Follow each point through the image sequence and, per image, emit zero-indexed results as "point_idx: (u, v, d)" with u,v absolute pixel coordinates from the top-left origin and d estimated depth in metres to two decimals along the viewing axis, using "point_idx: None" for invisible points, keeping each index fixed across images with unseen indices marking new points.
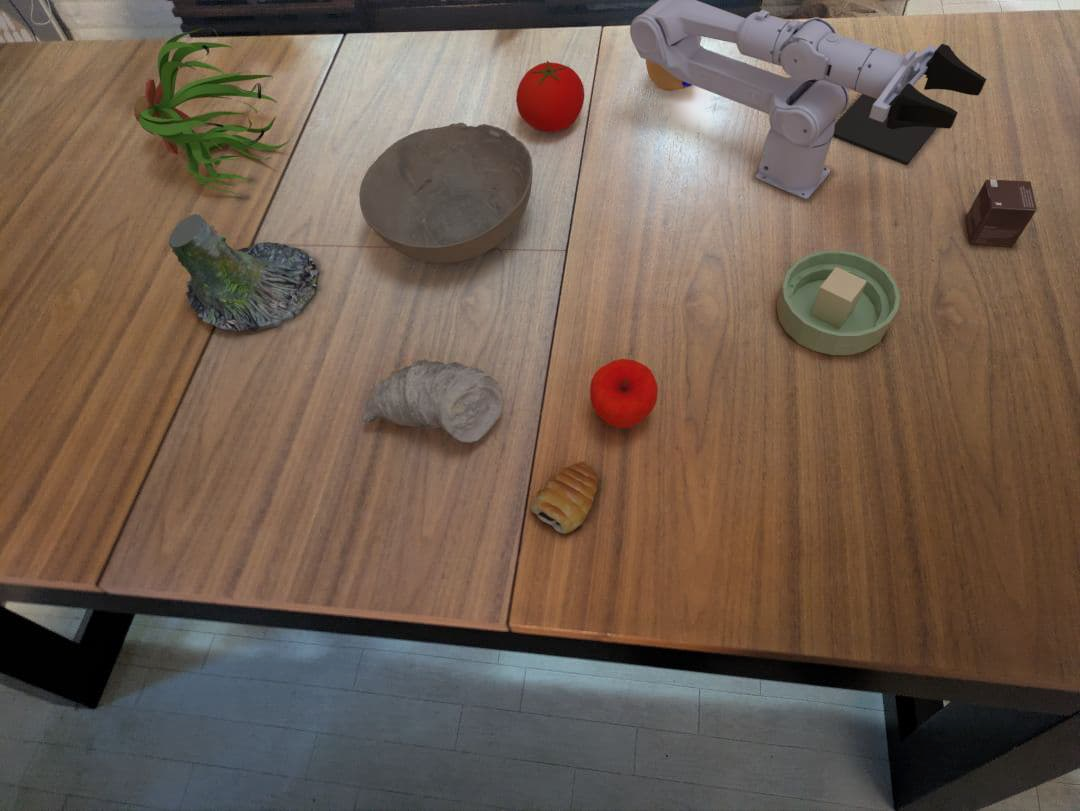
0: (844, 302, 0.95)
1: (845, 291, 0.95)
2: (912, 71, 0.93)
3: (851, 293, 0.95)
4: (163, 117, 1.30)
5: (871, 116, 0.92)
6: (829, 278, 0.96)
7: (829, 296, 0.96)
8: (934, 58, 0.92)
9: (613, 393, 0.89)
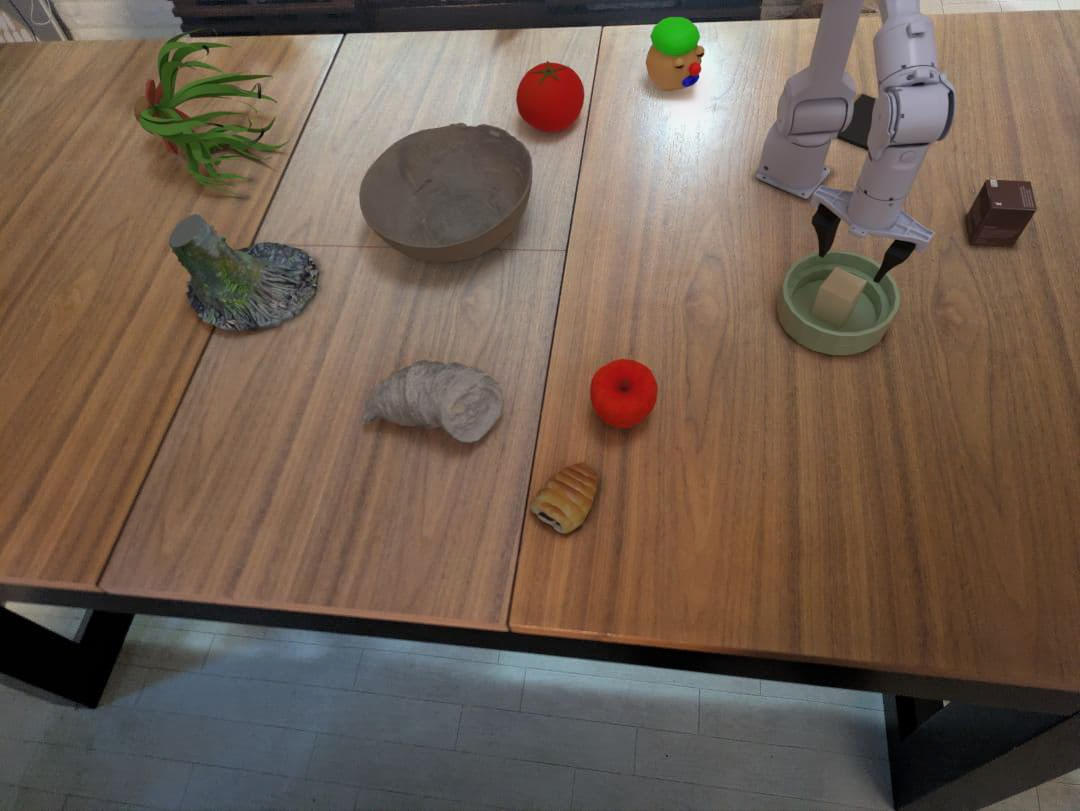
0: (844, 302, 0.95)
1: (845, 291, 0.95)
2: None
3: (851, 293, 0.95)
4: (163, 117, 1.30)
5: (819, 187, 0.88)
6: (829, 278, 0.96)
7: (829, 296, 0.96)
8: (889, 248, 0.84)
9: (613, 393, 0.89)
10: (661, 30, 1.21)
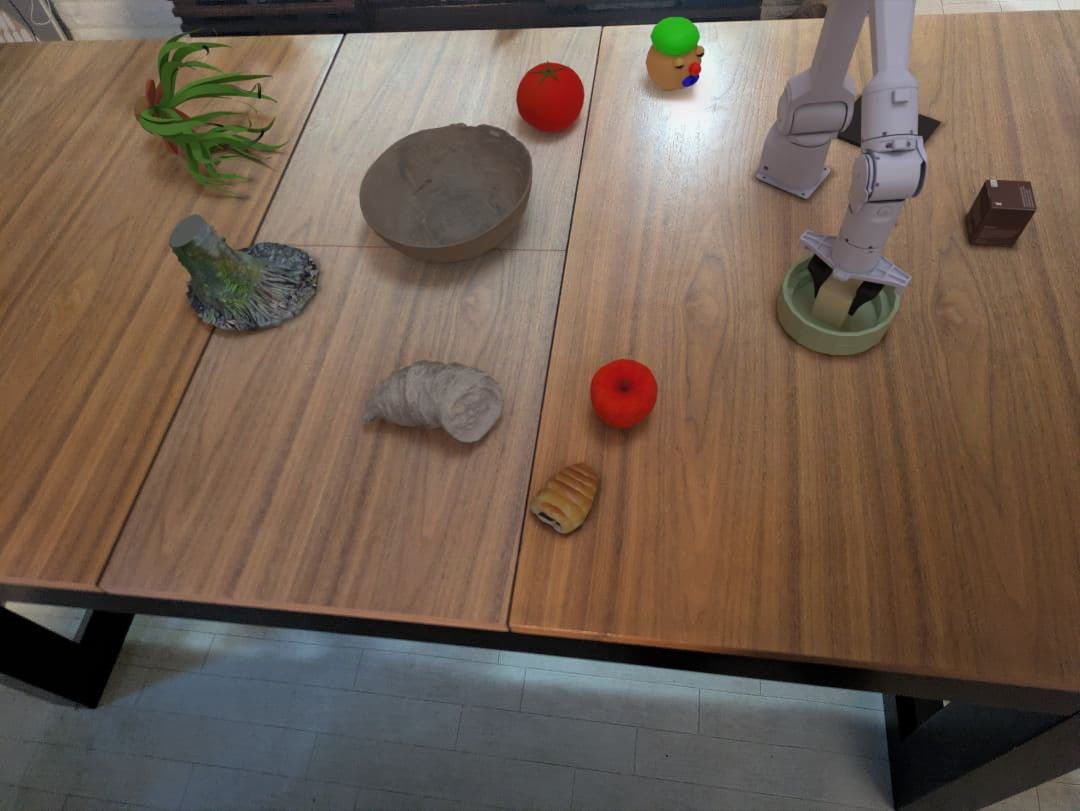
0: (844, 302, 0.95)
1: (845, 292, 0.95)
2: None
3: (851, 293, 0.95)
4: (163, 117, 1.30)
5: (805, 232, 0.95)
6: (829, 278, 0.96)
7: (829, 297, 0.96)
8: None
9: (613, 393, 0.89)
10: (661, 30, 1.21)
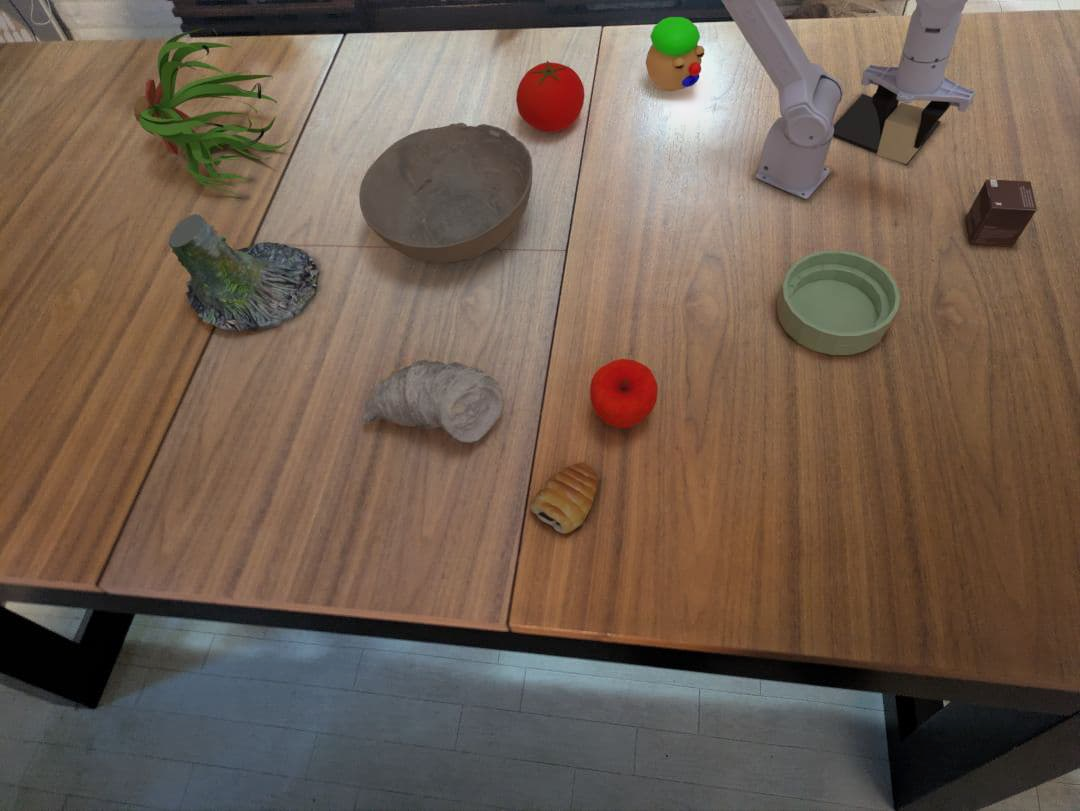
0: (910, 131, 0.99)
1: (910, 121, 0.99)
2: None
3: (917, 122, 0.99)
4: (163, 117, 1.30)
5: (868, 67, 1.00)
6: (894, 112, 1.01)
7: (895, 129, 1.00)
8: None
9: (613, 393, 0.89)
10: (661, 30, 1.21)
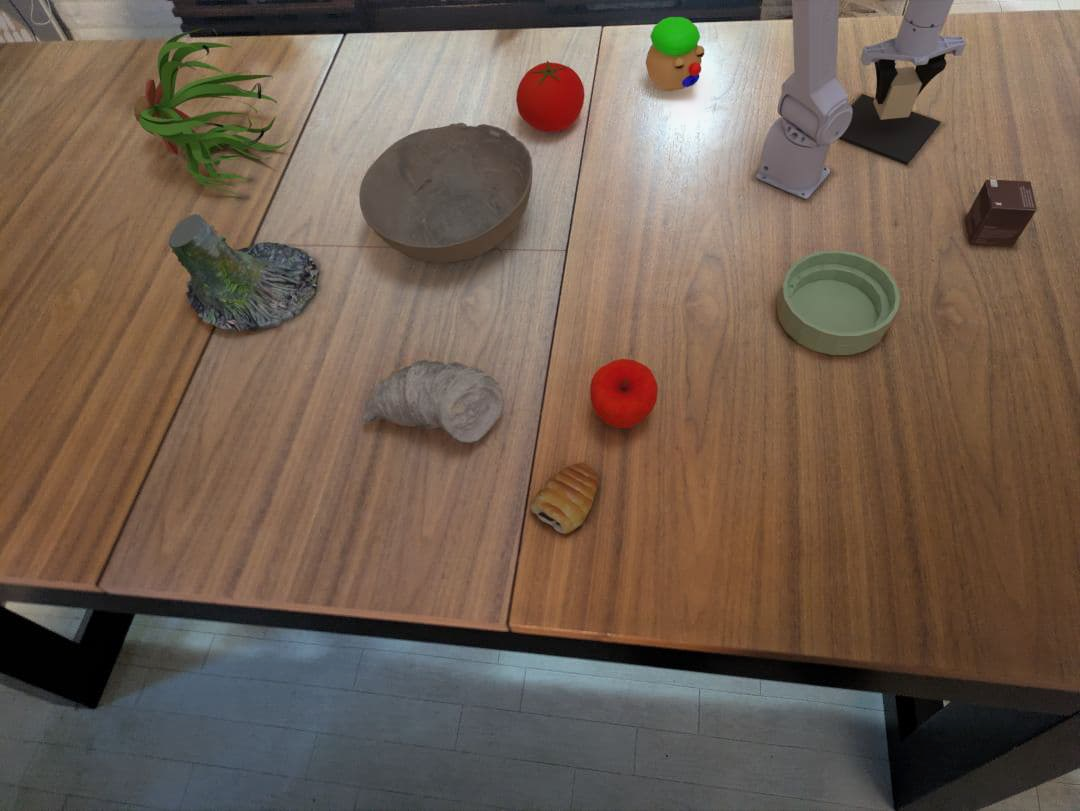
0: (916, 88, 1.11)
1: (910, 80, 1.11)
2: None
3: (915, 79, 1.11)
4: (163, 117, 1.30)
5: (863, 49, 1.08)
6: None
7: (901, 91, 1.11)
8: (929, 64, 1.08)
9: (613, 393, 0.89)
10: (661, 30, 1.21)
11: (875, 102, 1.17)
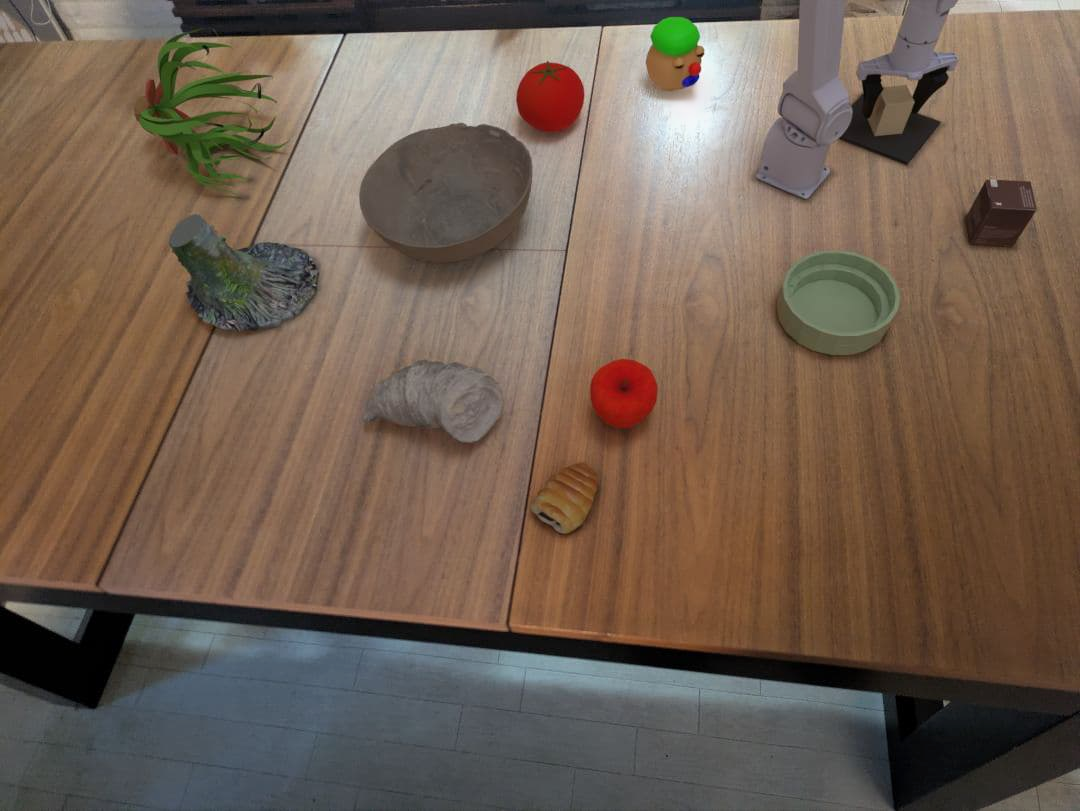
0: (908, 106, 1.13)
1: (903, 98, 1.13)
2: None
3: (908, 97, 1.13)
4: (163, 117, 1.30)
5: (858, 64, 1.10)
6: (884, 96, 1.14)
7: (894, 109, 1.14)
8: (931, 78, 1.10)
9: (613, 393, 0.89)
10: (661, 30, 1.21)
11: (869, 119, 1.20)
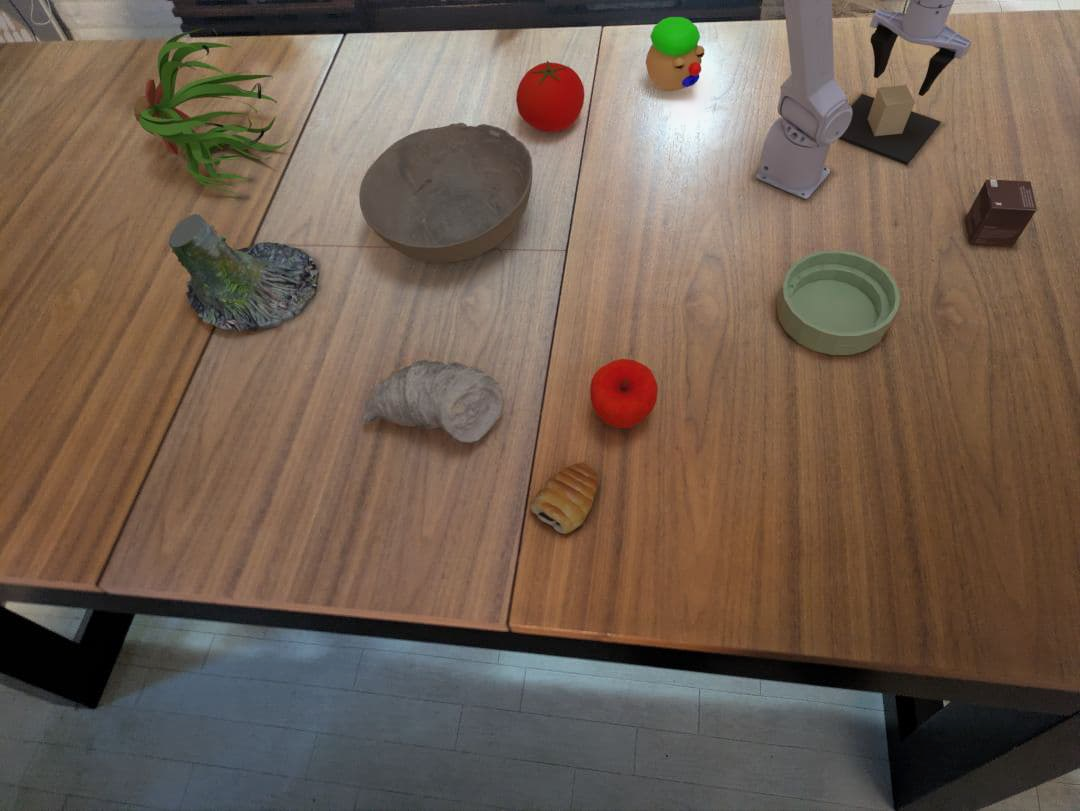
0: (908, 106, 1.13)
1: (903, 98, 1.13)
2: None
3: (908, 97, 1.13)
4: (163, 117, 1.30)
5: (966, 48, 1.01)
6: (884, 96, 1.14)
7: (894, 109, 1.14)
8: None
9: (613, 393, 0.89)
10: (661, 30, 1.21)
11: (869, 119, 1.20)
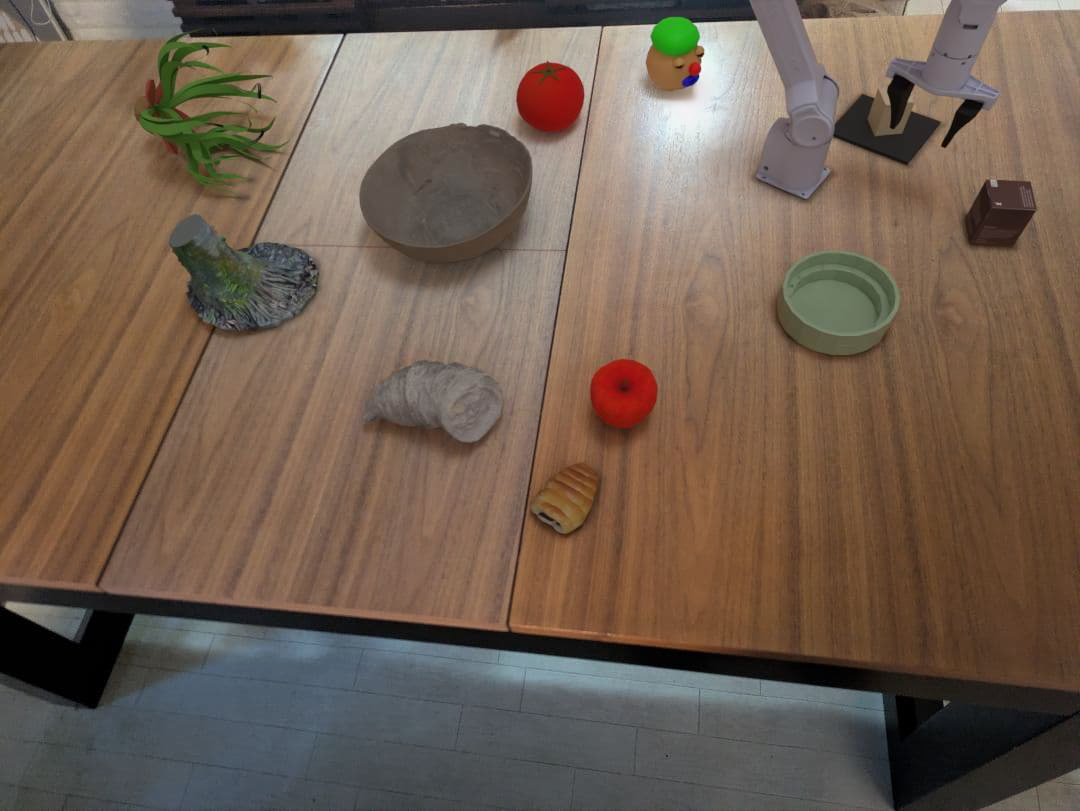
0: (908, 106, 1.13)
1: None
2: None
3: None
4: (163, 117, 1.30)
5: (995, 99, 0.93)
6: (884, 96, 1.14)
7: None
8: None
9: (613, 393, 0.89)
10: (661, 30, 1.21)
11: (869, 119, 1.20)
